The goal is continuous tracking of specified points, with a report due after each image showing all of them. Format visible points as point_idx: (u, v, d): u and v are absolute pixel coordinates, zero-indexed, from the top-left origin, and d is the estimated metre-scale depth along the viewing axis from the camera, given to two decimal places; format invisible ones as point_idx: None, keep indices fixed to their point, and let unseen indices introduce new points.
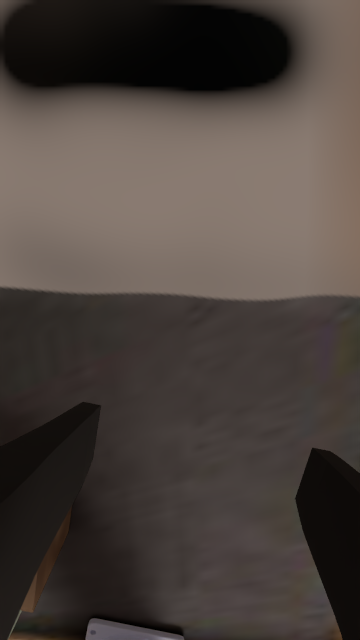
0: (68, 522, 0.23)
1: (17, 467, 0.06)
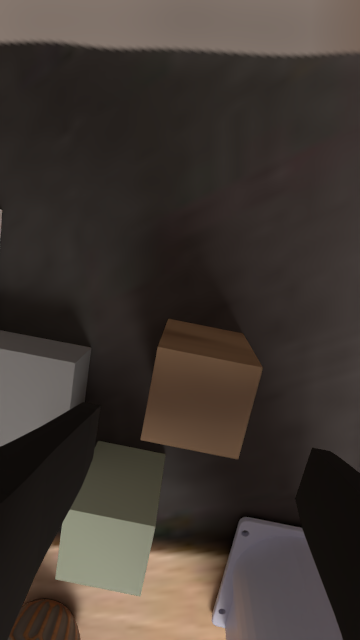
0: None
1: (17, 467, 0.06)
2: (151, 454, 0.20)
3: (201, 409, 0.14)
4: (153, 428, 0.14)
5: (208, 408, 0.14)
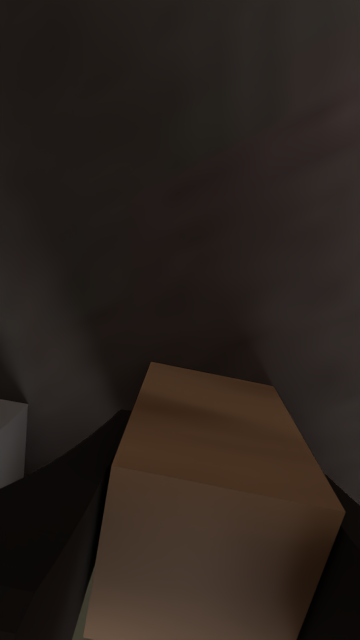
0: None
1: (82, 480, 0.06)
2: None
3: (207, 588, 0.06)
4: (108, 618, 0.07)
5: (221, 587, 0.06)
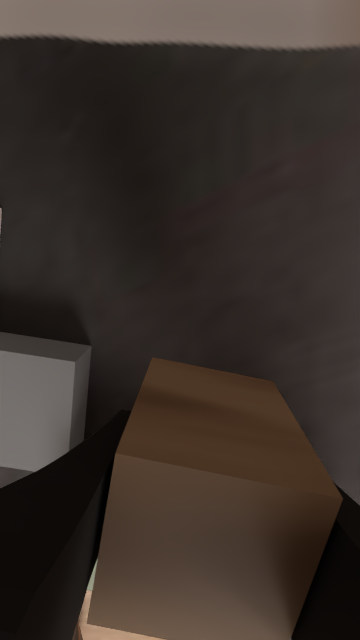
0: None
1: (82, 480, 0.06)
2: None
3: (208, 574, 0.07)
4: (111, 604, 0.07)
5: (223, 573, 0.07)
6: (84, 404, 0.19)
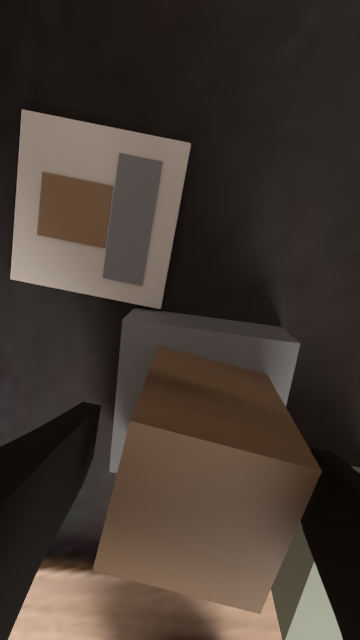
0: None
1: (17, 467, 0.06)
2: None
3: (202, 531, 0.08)
4: (116, 554, 0.08)
5: (214, 531, 0.08)
6: None
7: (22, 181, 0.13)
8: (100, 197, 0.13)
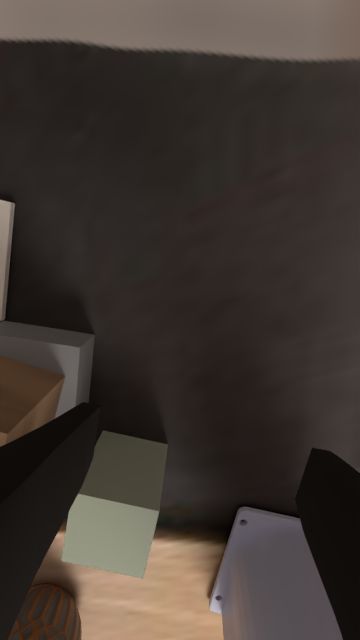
0: None
1: (17, 467, 0.06)
2: (154, 444, 0.21)
3: None
4: None
5: None
6: (87, 390, 0.20)
7: None
8: None
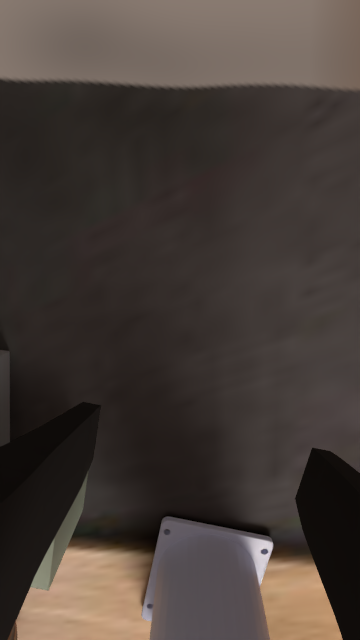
0: None
1: (17, 467, 0.06)
2: None
3: None
4: None
5: None
6: (5, 405, 0.20)
7: None
8: None
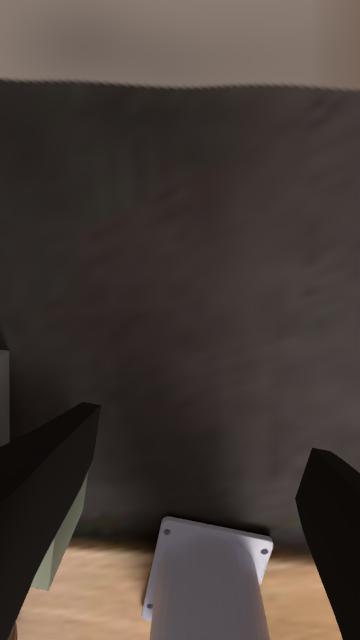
0: None
1: (17, 467, 0.06)
2: None
3: None
4: None
5: None
6: (6, 404, 0.20)
7: None
8: None
